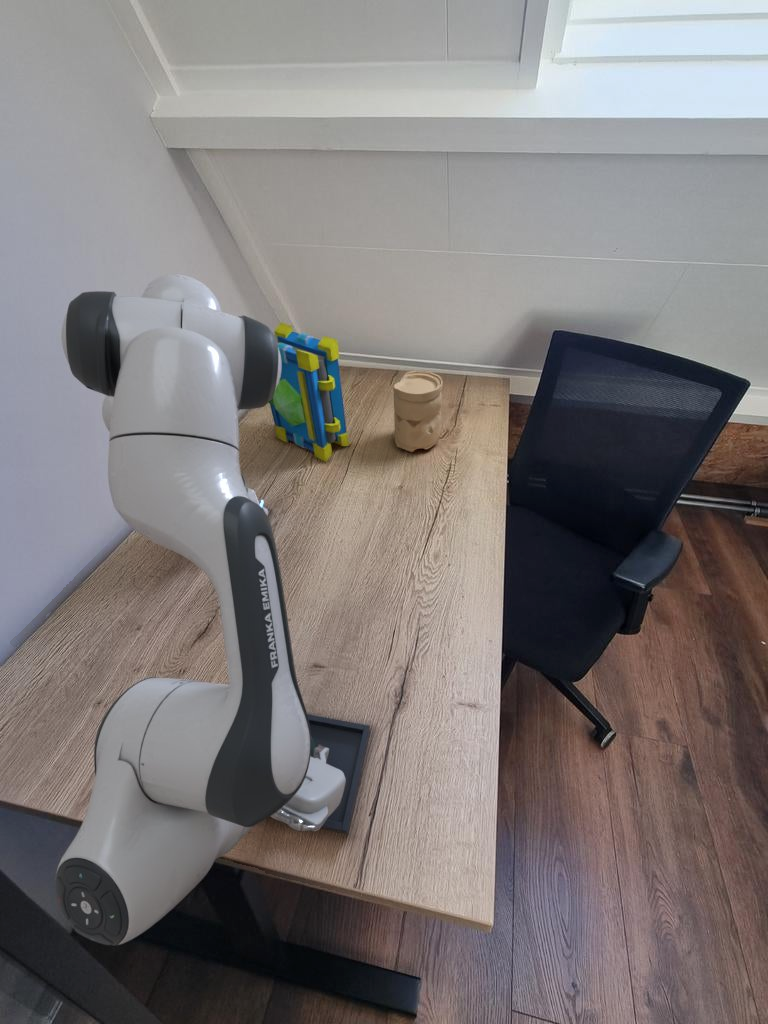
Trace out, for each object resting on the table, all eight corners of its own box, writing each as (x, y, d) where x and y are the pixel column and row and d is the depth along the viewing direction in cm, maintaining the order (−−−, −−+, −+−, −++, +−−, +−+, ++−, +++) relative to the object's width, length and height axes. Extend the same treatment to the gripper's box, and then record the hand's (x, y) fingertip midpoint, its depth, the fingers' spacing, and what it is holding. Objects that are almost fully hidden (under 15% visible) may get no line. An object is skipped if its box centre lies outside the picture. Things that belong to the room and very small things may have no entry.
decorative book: (303, 419, 139) (284, 319, 118) (359, 444, 127) (349, 338, 107) (267, 440, 131) (240, 337, 110) (323, 469, 119) (305, 360, 99)
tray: (226, 807, 63) (222, 803, 62) (263, 711, 73) (260, 705, 71) (348, 835, 60) (346, 831, 59) (370, 731, 70) (369, 725, 68)
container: (390, 451, 124) (388, 391, 112) (400, 427, 133) (398, 369, 120) (436, 456, 121) (438, 395, 109) (443, 431, 130) (445, 372, 118)
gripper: (321, 805, 44) (369, 745, 57) (160, 726, 50) (236, 688, 64) (305, 868, 44) (357, 793, 57) (146, 780, 50) (225, 731, 64)
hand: (292, 737), depth 60 cm, fingers open, 8 cm apart
